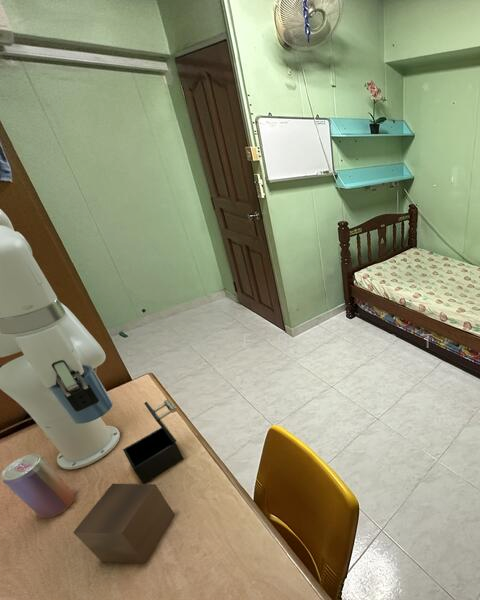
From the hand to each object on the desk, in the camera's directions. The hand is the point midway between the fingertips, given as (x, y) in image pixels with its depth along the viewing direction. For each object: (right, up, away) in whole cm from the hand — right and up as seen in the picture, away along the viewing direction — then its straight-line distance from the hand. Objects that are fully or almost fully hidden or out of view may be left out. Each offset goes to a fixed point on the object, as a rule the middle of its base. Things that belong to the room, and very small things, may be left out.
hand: (83, 396), depth 58 cm
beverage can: (-20, -30, +14) cm, 39 cm away
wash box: (-4, -25, +24) cm, 35 cm away
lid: (-2, -13, +21) cm, 25 cm away
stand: (+3, -33, +9) cm, 34 cm away
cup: (0, -3, +2) cm, 4 cm away
